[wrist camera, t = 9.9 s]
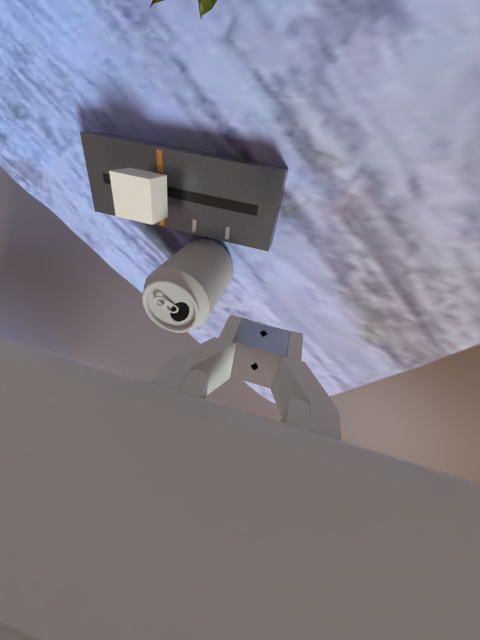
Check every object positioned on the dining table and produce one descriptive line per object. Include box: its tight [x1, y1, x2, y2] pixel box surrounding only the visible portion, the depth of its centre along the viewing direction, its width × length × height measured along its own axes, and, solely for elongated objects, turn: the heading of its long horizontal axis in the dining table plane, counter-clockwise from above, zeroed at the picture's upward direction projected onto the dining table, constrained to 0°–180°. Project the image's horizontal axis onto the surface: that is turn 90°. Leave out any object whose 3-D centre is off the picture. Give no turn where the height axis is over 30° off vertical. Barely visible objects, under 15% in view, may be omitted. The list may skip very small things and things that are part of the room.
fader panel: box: [80, 132, 288, 251], centre depth 29 cm, size 8×22×3 cm, turn 81°
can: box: [142, 239, 234, 333], centre depth 31 cm, size 8×8×12 cm
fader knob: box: [109, 168, 168, 225], centre depth 26 cm, size 4×4×5 cm
